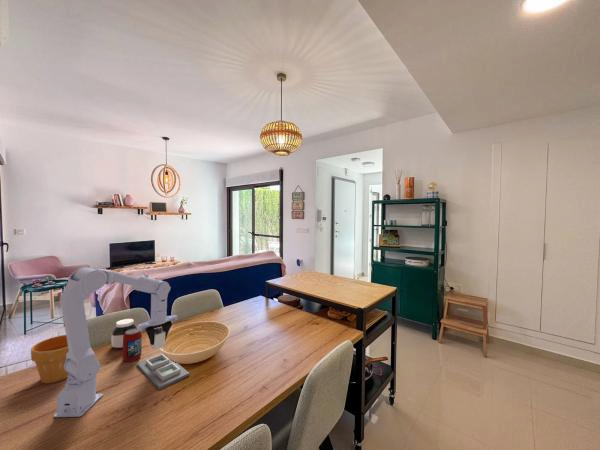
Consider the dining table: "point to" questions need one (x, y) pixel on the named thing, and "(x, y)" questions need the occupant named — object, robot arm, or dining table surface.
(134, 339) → the beverage can
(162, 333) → the plug
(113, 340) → the spread jar
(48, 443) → the dining table surface
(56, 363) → the flower pot
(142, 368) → the board
